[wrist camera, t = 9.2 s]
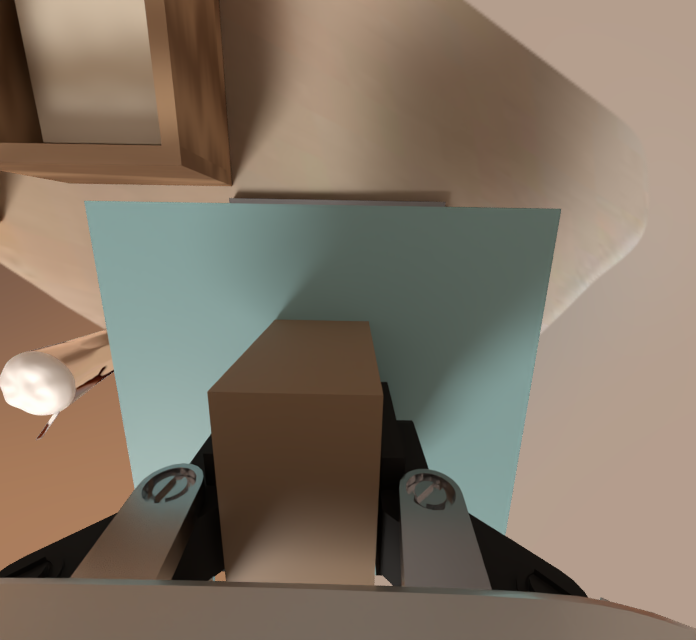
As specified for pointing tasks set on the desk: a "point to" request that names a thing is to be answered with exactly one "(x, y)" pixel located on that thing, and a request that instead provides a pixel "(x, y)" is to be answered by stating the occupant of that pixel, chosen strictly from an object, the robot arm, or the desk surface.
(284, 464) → the lid
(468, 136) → the desk surface
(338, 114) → the desk surface
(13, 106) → the storage box
